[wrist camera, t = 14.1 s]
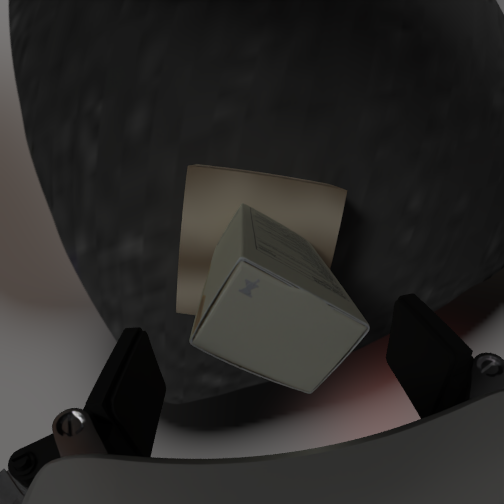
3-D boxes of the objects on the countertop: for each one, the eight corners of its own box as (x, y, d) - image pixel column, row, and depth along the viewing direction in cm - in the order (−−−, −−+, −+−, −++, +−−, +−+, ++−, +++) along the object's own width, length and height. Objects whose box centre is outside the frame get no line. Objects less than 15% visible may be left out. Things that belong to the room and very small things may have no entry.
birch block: (197, 164, 25) (187, 165, 20) (328, 184, 26) (347, 190, 21) (185, 287, 29) (176, 312, 24) (303, 301, 30) (314, 327, 25)
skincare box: (213, 249, 22) (177, 342, 11) (242, 200, 21) (232, 248, 10) (284, 289, 23) (311, 400, 12) (315, 244, 22) (375, 329, 11)
